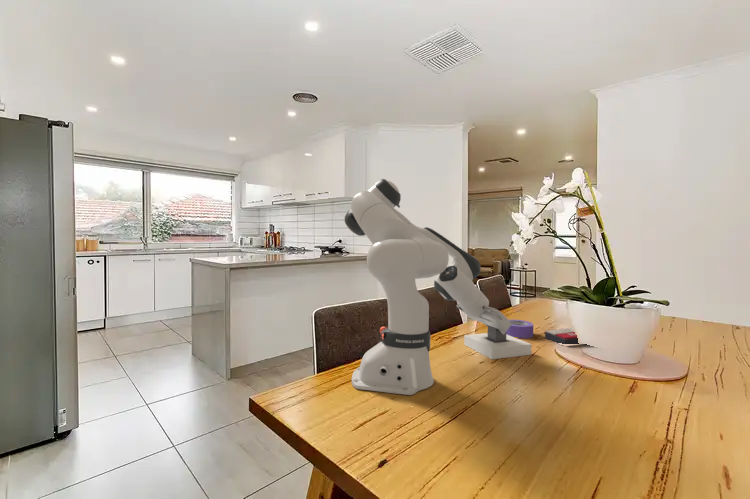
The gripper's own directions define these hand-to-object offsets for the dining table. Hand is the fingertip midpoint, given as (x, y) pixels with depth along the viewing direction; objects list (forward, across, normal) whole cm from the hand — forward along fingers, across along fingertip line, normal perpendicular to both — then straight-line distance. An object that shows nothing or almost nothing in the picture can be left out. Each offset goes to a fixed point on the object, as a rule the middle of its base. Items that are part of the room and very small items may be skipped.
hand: (498, 330), depth 123 cm
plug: (+3, 0, +4) cm, 4 cm away
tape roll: (+20, +14, -10) cm, 26 cm away
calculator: (+30, 0, -19) cm, 35 cm away
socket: (+4, 0, +5) cm, 7 cm away
